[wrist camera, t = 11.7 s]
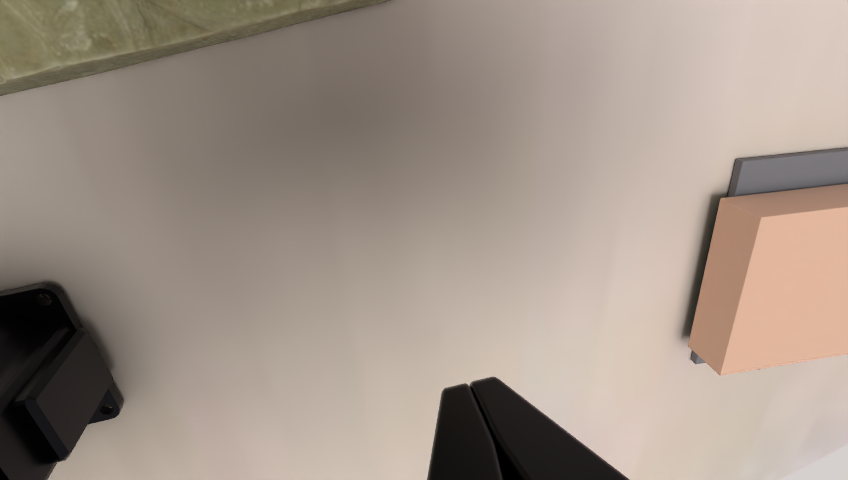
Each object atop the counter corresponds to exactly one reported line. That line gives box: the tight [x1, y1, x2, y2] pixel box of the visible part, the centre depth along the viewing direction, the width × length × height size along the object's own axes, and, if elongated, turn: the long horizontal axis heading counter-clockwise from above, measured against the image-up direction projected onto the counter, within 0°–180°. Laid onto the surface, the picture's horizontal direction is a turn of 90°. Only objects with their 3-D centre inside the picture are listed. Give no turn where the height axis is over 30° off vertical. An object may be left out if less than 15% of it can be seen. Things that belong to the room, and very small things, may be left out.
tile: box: [688, 184, 848, 376], centre depth 23 cm, size 2×8×10 cm
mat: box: [691, 148, 848, 364], centre depth 25 cm, size 13×11×1 cm
